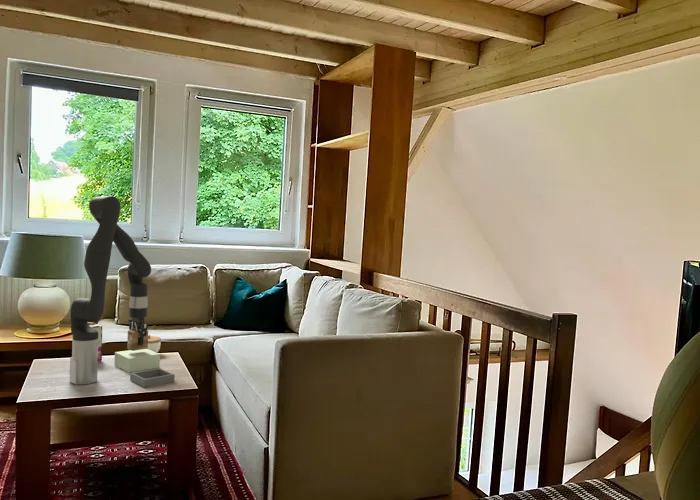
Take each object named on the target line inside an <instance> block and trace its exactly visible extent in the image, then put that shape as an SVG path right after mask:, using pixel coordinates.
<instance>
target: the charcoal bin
mask: <svg viewBox="0 0 700 500" xmlns="http://www.w3.org/2000/svg"><path fill="white" fill-rule="evenodd" d="M129 373H130V374H129V381H131V382H133V383H135V384H136V385H139V387H142V388H149V387H153V386H158V385H165V384H168V383H174V382H175V373H172V372H170V371H169V370H166V369H163V368H162V367H159V368H153V369H147V370H141V371H135V372H129Z"/></svg>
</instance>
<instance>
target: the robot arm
mask: <svg viewBox="0 0 700 500" xmlns="http://www.w3.org/2000/svg"><path fill="white" fill-rule="evenodd" d="M88 210H89V212H90V214H91V215H92V217H93V218H94V219H95V221H96V222H97V224H99V225H98V228H97V230H96V232H95V234H94V236H92V238H91V240H90V241H89V243H88V245H87V248H86V251H85V256H84V263H83V267H84V270H85V273H86V275H87V277H88V280H89V282H90V285H91V286H90V287H91V294H90V298H87V297H79V298H75V299H74V300H73V301H72V303H71V305H70V315H69V316H70V330H71V331H70V332H71V333H70V334H71V335H72V348H71V350H72V351H71V354H72V355H71V357H69V358H70V359H69V382H70V383H71V384H73V385H75V386H77V385H90V384H94V383H96V382H97V381H98V331H97V330H95V329H93V328H91V327H90V326H89V325H90V324H89V323H98V322H99V321H100V320H101V319H102V317H103V314H104V310H105V309H104V308H105V302H106V301H105V300H106V285H107V277H108V274H109V268H110V262H111V256H112V248H113V244H114V245H115V246H116V248H117V250H118V252H119V253H120V255H121V257H122V258H123V259H124V260H125V261H126V262H128V263H129V264H128V266H127V278H128V283H129V285H130V287H129V289H130V292H129V295H130V296H129V307H128V308H129V309H128V314H129V315H128V316H129V319H128V331H129V330H136V332H138V346H142V345H143V337H144V336H146V335H147V331H148V328H149V323H147V322H146V323H145V318H147V317H148V307H149V304H148V303H149V302H148V301H149V299H148V284H147V283H146V282H144V280H143V278H144V279H145V278H147V277H150V274H151V273H152V267H151V266H152V265H151V264H150V262H149V260H147V258H146V257H145V256H144V255H143V253H141V252H140V250H139V249H138V247H137V245H136V244H135V242H134V240H133V238H132V236H130V235H129V234H128V233H127V232H126V231H125V230H124V229H123V228H121V227H120V225H119V224H118V221H119V218H120V214H121V210H122V209H121V202H120V200H119V198H117V196H114V195H105V196H103V195H102V196H96V197H93V198H92V199H91V200H90V201H89V205H88ZM140 329H141V330H140ZM144 332H145V333H144Z"/></svg>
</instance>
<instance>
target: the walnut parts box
mask: <svg viewBox="0 0 700 500" xmlns="http://www.w3.org/2000/svg"><path fill="white" fill-rule="evenodd" d="M140 330H141V329H140ZM144 333H145V332H144ZM148 335H149V330H147V335H146V336H144V337H143V345H142V346H138V332H136V330H129V329H128V330H127V340H126V342H127V345H126V347H127V349H128V350H132V351H135V350H142V349H148Z"/></svg>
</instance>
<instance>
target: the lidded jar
mask: <svg viewBox="0 0 700 500" xmlns="http://www.w3.org/2000/svg"><path fill="white" fill-rule="evenodd" d="M161 341H162V338H161V337H158V336H153V335H152V336H151V335H150V334H148V349H149V350H151V351H154V352H156V353H159V351H160V349H161Z"/></svg>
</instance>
